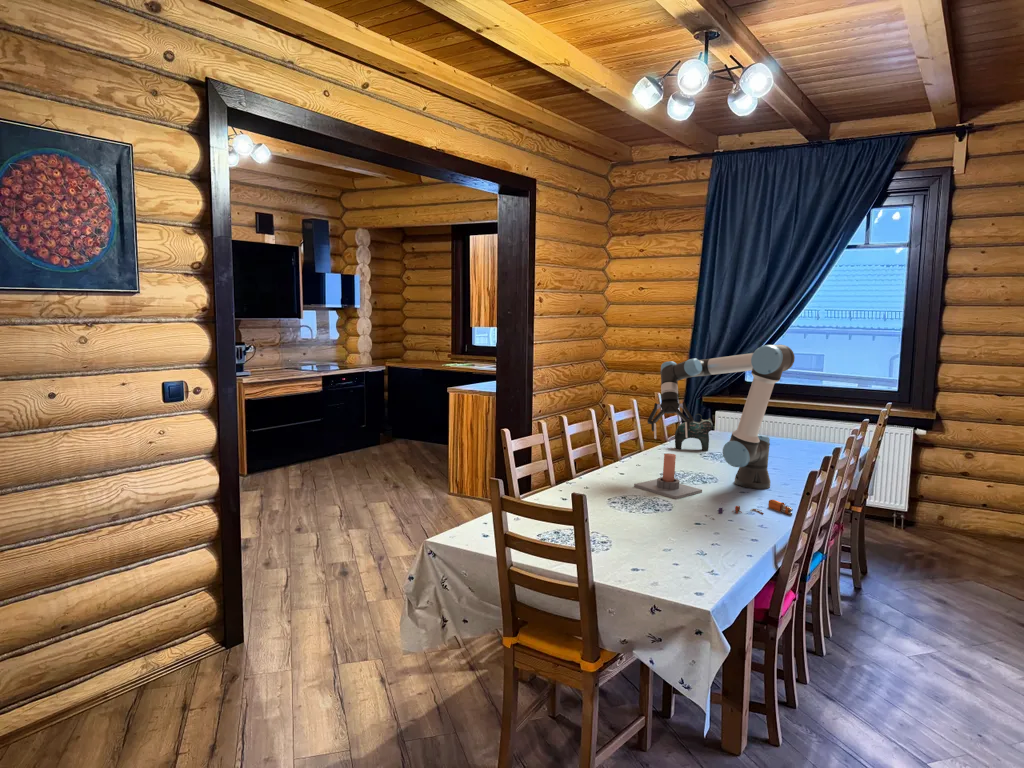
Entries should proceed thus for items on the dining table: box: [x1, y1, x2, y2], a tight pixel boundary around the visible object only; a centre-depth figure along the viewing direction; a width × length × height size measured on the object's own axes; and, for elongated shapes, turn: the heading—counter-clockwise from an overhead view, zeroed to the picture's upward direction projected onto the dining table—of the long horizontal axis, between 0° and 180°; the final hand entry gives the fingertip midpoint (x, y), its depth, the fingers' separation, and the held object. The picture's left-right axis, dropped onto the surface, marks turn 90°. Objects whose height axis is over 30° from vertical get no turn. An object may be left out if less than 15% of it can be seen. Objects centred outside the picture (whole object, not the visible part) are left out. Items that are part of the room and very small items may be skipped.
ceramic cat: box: [674, 413, 713, 452], centre depth 372 cm, size 20×6×20 cm, turn 80°
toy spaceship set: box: [704, 499, 793, 521], centre depth 257 cm, size 11×35×4 cm, turn 114°
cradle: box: [633, 476, 703, 500], centre depth 288 cm, size 22×18×4 cm
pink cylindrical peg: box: [662, 453, 677, 482], centre depth 288 cm, size 5×5×14 cm
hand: (670, 437), depth 300 cm, fingers open, 13 cm apart
